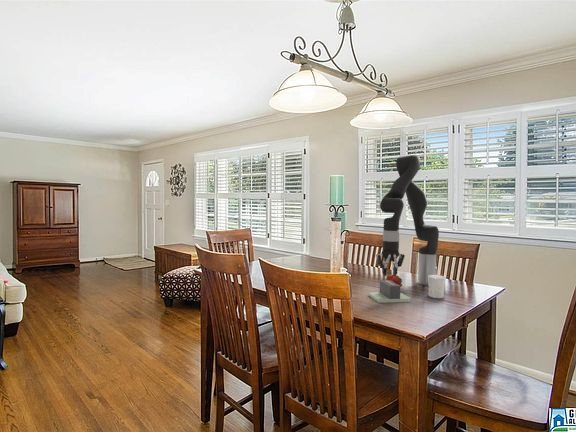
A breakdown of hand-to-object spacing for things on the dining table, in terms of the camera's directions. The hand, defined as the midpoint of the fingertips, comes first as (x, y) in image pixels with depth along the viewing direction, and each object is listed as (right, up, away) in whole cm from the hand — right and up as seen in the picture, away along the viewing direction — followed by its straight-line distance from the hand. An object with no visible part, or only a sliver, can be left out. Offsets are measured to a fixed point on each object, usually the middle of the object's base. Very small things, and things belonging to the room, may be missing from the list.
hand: (389, 275), depth 173 cm
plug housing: (0, -10, +1) cm, 10 cm away
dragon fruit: (+6, -11, +17) cm, 21 cm away
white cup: (+24, -12, +5) cm, 28 cm away
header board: (0, -11, +1) cm, 11 cm away
